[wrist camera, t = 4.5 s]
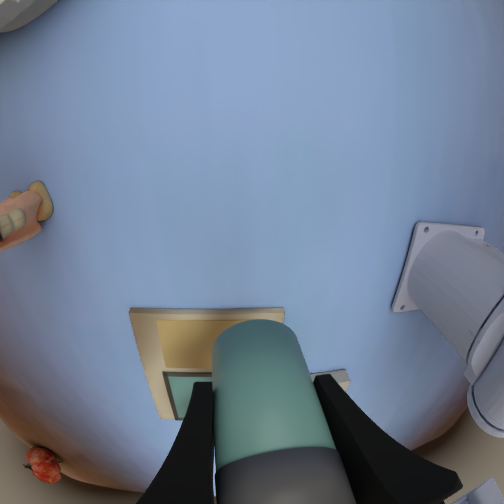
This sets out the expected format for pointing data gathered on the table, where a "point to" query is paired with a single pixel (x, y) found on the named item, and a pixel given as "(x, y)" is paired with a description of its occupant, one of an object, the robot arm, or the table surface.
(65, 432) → the table surface
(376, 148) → the table surface
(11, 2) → the flag stand
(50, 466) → the pomegranate
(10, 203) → the grandmother figurine
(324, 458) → the green grey cylinder
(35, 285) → the table surface
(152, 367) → the picture board
